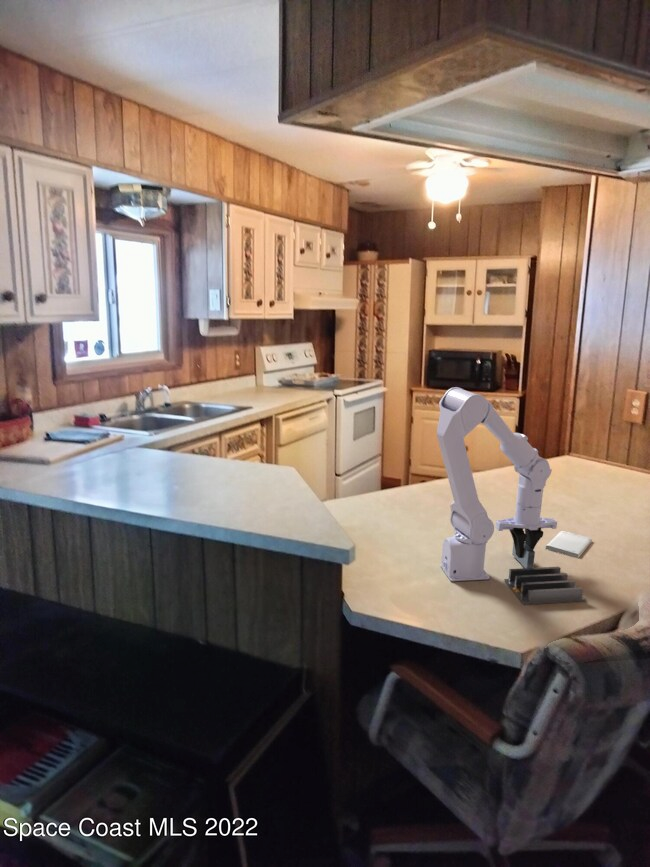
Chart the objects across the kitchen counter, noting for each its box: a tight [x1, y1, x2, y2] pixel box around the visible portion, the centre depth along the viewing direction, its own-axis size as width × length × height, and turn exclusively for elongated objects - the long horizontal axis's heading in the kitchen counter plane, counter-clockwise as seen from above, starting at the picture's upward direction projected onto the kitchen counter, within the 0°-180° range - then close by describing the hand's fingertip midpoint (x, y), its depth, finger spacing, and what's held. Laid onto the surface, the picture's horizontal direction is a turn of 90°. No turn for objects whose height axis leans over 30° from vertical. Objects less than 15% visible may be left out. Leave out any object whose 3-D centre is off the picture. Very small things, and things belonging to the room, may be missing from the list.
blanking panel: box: [511, 542, 536, 568], centre depth 147 cm, size 8×2×4 cm, turn 8°
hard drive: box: [545, 530, 593, 559], centre depth 159 cm, size 2×8×12 cm
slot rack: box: [503, 566, 587, 606], centre depth 135 cm, size 14×10×3 cm
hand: (522, 556), depth 148 cm, fingers closed on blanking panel, 2 cm apart
